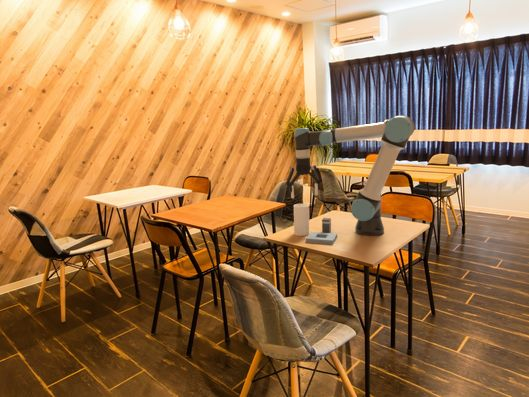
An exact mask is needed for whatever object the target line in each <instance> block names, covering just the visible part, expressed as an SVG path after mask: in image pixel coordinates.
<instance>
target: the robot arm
mask: <svg viewBox="0 0 529 397" xmlns="http://www.w3.org/2000/svg"><path fill="white" fill-rule="evenodd" d="M414 122H415V121H413V119H412V118H411V117H409V116H407V115H395V116H393V117H391V118H390V119H389V118H388V119H385V120H384V121H383V122H375V123H369V124H361V125H360V124H359V125H353V126H345V127H338V128H331V129H330V128H329V129H324V130H317V131H316V130H315V131H311V130H310V129H309V127H302V128H301V127H300V128H296V129H294V144H295V145H294V146H295V148H294V149H295V166H296V167H290V172H289V174H288V176H287V178H286V181H285V185H286V186H288V190H289V193H290V195H291V196H290V197H291V199H294V198H295V190H294V187H295V186H294V184H295V182H296V181H297V179H298V178H299V177H300V176H304V175H305V176H307V175H308V176H310V178H311V179H312V180H313V181H314V182H315V183H314V195H315V196H319V190H320V184H321V183H322V182H323V178H322V177H321V175H320V173H319V171H318V170H317V169H318V168H317V165H312V166H311V158H310V157H311V153H310V152H311V151H310V149H311V148H310V147H320V146H321V147H322V146H323V147H326V146H331V145H332V144H337V143H345V142H346V143H347V142H354V141H361V140H362V141H363V140H370V139H371V140H372V139H381V140H380V141H381V144H382V145H381V146H380V149H379V152H378V154H377V157H376V159H375V161H374V163H373V165H372V167H371V170H370V172H369V175H368V178H367V179H366V181H365V184H364V186H363V188H361V189H359V190H358V193H357V195H356V197H355V200H353V201H352V204H351V207H350V213H351V215H352V216H353V217H354V219H356V220H357V221H356V224H355V233H356V234H360V235H362V236H363V235H364V236H378V235H382V234H384V232H385V226H384V224H383V221H382V218H381V217H382V191H383V189H384V187H385V185H386V182H387V180H388V177H389V176H390V173H391V171H392V168H393V167H394V165H395V163H396V160H397V158H398V155H399V153H400V151H403V150H404V149H405V148H406V147H407V143H408V142H409V140H410V137H411V136H412V135H413V133H414V131H415V127H416V126H415V123H414ZM311 170H312V171H313V172H314V174H315V175H316V177H315V175H314V174H313V173H312V172H311ZM295 171H296V173H295ZM294 174H295V175H294ZM293 175H294V176H293Z"/></svg>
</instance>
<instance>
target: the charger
mask: <svg viewBox="0 0 529 397" xmlns="http://www.w3.org/2000/svg"><path fill="white" fill-rule="evenodd" d="M321 224H322V225H321V228H322V230H321V232H322V233H332V218H331V217H323V218H322V219H321Z"/></svg>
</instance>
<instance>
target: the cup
mask: <svg viewBox="0 0 529 397" xmlns="http://www.w3.org/2000/svg"><path fill="white" fill-rule="evenodd" d="M309 207H310V205H309V204H307V203H296V204H294V205H293V228H294V229H293V230H294V235H295V236H301V237H302V236H303V237H304V236H308V235H309V234H310V208H309Z"/></svg>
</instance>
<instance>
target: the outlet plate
mask: <svg viewBox="0 0 529 397" xmlns="http://www.w3.org/2000/svg"><path fill="white" fill-rule="evenodd" d="M337 239H338V232H337V233H336V232H333V233H332V232H331V233H322V231H321V232H320V231H311V232H309V234H308V235H306V237H305V243H309V244H310V243H312V244H324V245H326V244H327V245H334V243H335V242H336V240H337Z"/></svg>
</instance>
